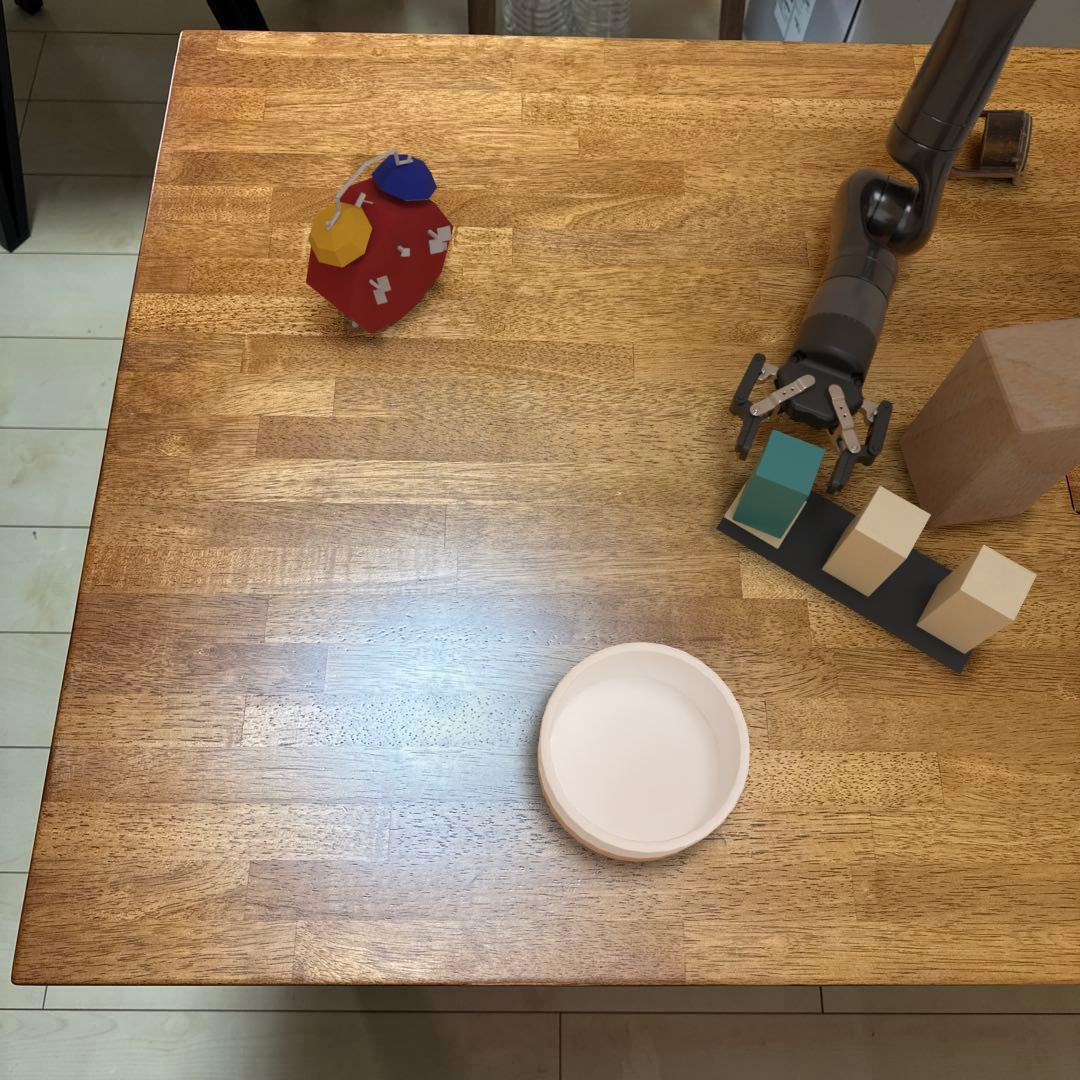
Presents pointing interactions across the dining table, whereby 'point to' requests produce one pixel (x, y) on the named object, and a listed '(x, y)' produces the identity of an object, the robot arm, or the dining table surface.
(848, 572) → the cream block
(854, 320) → the robot arm
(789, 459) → the teal block
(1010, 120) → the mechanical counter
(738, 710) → the bowl
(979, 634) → the cream block
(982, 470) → the wooden block
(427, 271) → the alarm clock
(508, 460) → the dining table surface
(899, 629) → the mat
